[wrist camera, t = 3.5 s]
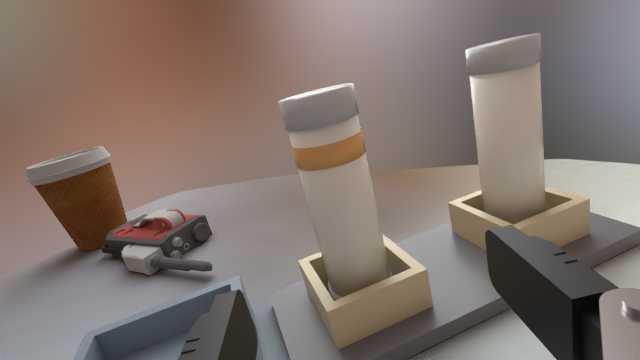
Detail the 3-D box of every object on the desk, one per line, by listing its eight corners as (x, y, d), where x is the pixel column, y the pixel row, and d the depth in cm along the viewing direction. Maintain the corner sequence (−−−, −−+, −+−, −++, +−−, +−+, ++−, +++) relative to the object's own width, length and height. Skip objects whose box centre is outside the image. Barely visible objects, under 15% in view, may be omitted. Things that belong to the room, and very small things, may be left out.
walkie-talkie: (88, 268, 41) (206, 288, 31) (71, 235, 40) (188, 244, 29) (152, 231, 48) (265, 236, 38) (139, 202, 47) (253, 199, 36)
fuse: (516, 254, 23) (500, 44, 19) (472, 231, 26) (451, 52, 22) (563, 233, 24) (557, 29, 20) (514, 214, 27) (501, 39, 23)
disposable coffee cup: (49, 260, 46) (2, 175, 42) (107, 225, 54) (72, 152, 51) (103, 255, 43) (58, 163, 39) (156, 219, 51) (122, 140, 48)
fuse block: (306, 408, 17) (287, 352, 16) (272, 305, 25) (258, 264, 24) (642, 242, 22) (645, 192, 21) (523, 202, 31) (521, 164, 30)
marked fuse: (347, 330, 20) (287, 103, 16) (325, 293, 24) (271, 101, 20) (408, 303, 21) (366, 82, 17) (377, 271, 25) (336, 83, 21)
